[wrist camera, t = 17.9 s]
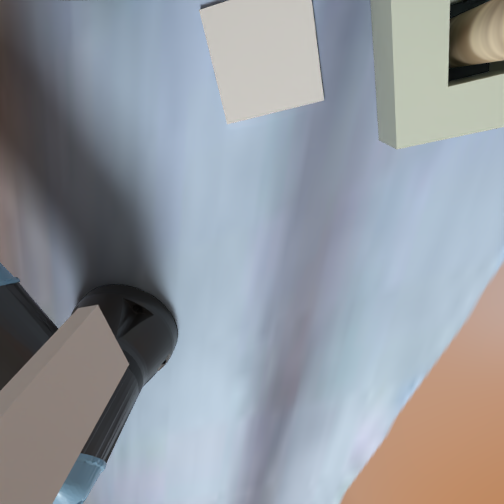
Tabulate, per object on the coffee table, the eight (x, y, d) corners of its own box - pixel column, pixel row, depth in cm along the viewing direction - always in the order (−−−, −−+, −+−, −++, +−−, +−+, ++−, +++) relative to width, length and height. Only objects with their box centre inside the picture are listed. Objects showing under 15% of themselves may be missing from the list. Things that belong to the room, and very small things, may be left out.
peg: (430, 73, 30) (533, 58, 18) (431, 23, 28) (544, -32, 16) (477, 62, 29) (618, 38, 17) (480, 9, 28) (640, -59, 15)
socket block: (378, 140, 33) (396, 149, 28) (368, -28, 27) (388, -58, 22) (532, 107, 30) (584, 110, 25) (556, -87, 25) (631, -137, 19)
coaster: (227, 123, 34) (227, 124, 33) (200, 10, 30) (199, 10, 29) (323, 100, 32) (324, 100, 32) (308, -24, 28) (308, -26, 27)
